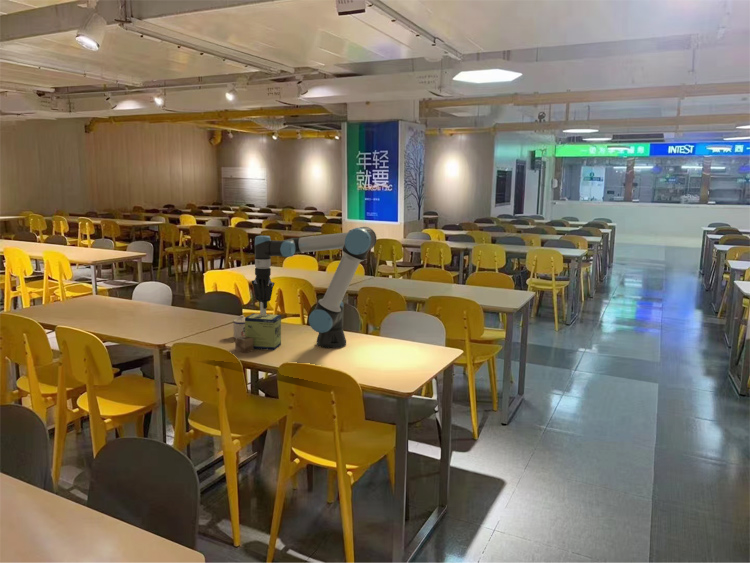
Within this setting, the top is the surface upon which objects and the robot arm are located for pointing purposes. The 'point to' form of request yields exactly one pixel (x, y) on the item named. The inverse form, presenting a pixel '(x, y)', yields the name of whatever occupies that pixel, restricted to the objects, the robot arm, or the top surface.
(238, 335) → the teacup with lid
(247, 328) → the protein box
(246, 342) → the numbered walnut block
